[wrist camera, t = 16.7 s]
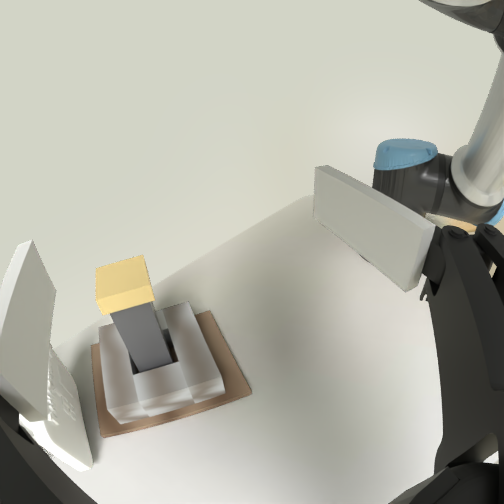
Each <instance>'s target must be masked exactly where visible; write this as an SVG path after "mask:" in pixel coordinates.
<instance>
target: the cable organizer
mask: <svg viewBox="0 0 504 504" xmlns="http://www.w3.org/2000/svg"><path fill="white" fill-rule="evenodd" d="M47 415H48V420H43V421H37V422H29V421H28V420H26V419H25V418H24V417H23V416H22V415H21V414H19V424H20V425H22V426H23V427H24V428H25V429H26V430H27V431H28V433H29V434H30V435H31V436H32V438H33V439H34V440H35V441H36V442H37V443H38V445H39V446H40V445H41V446H42V447H44V448H45V449H46V450H48V451H49V452H51V453H52V454H54V455H55V456H56V457H58V458H59V459H61V460H62V461H63V463H64V462H65V463H67V464H69V465H70V466H72V467H73V468H75V469H76V470H78V471H84V470H88V469H92V467H93V459H92V454H91V451H90V447H89V443H88V439H87V435H86V430H85V426H84V421H83V416H82V411H81V406H80V400H79V395H78V390H77V386H76V383H75V381H74V379H73V377H72V375H71V374H70V373H69V371H68V370H67V369H66V368H65V366H64V365H63V363H62V362H61V361H60V359H59V358H58V357H57V355H56V354H55V352H54V351H53V350H52V345H51V344H50V346H49V360H48V382H47Z"/></svg>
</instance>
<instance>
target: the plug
mask: <svg viewBox="0 0 504 504" xmlns="http://www.w3.org/2000/svg"><path fill="white" fill-rule="evenodd" d="M154 300H155V298H154V294H153V290H152V286H151V283H150V278H149V275H148V270H147V267H146V263H145V260H144V256H143V255H140V256H137V257H133V258H130V259H126V260H123V261H119V262H116V263H112V264H109V265H106V266H102V267H99V268H96V302H97V304H98V306H99V308H100V310H101V312H102V315H106V314H110V315H111V317H112V320H113V322H114V324H115V326H116V328H117V330H118V332H119V334H120V336H121V338H122V340H123V342H124V344H125V346H126V348H127V350H128V351H129V353H130V355H131V357H132V359H133V361H134V363H135V364H136V366H137V368H138V370H139V372H140V373H142V372H145V371H149V370H152V369H156V368H159V367H163V366H166V365H169V364H173V363H174V361H173V358H172V355H171V352H170V349H169V347H168V344H167V342H166V339H165V336H164V334H163V331H162V328H161V326H160V323H159V320H158V317H157V314H156V312H155V309H154V306H153V303H152V301H154Z"/></svg>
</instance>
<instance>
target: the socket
mask: <svg viewBox="0 0 504 504" xmlns="http://www.w3.org/2000/svg"><path fill="white" fill-rule="evenodd" d="M155 312H156V314H157V317H158V320H159V323H160V326H161V328H162V331H163V334H164V336H165V339H166V342H167V344H168V347H169V349H170V352H171V355H172V358H173V361H174V363H173V364H169V365H166V366H163V367H159V368H156V369H152V370H149V371H145V372H142V373H140V372H139V370H138V368H137V366H136V364H135V363H134V361H133V359H132V357H131V355H130V353H129V351H128V350H127V348H126V346H125V344H124V342H123V340H122V338H121V336H120V334H119V332H118V330H117V328H116V326H115V324H114V323H113V324H109V325H106V326H102V327H99V343H98V344H94V345H91V355H92V369H93V381H94V390H95V399H96V407H97V415H98V421H99V428H100V434H101V436H102V437H103V438H106V437H111V436H116V435H120V434H125V433H129V432H133V431H137V430H141V429H145V428H149V427H153V426H157V425H160V424H164V423H167V422H171V421H174V420H178V419H181V418H184V417H188V416H191V415H194V414H197V413H200V412H203V411H206V410H209V409H212V408H215V407H218V406H221V405H224V404H226V403H229V402H232V401H235V400H237V399H240V398H243V397H245V396H248V395H250V394H252V392H251V389H250V388H249V386H248V384H247V382H246V380H245V378H244V376H243V375H242V373H241V371H240V369H239V367H238V365H237V363H236V361H235V360H234V358H233V356H232V354H231V352H230V350H229V348H228V346H227V344H226V342H225V340H224V338H223V336H222V334H221V332H220V330H219V328H218V326H217V324H216V322H215V320H214V318H213V316H212V314H211V312H210V311H206V312H203V313H200V314H197V315H194V313H193V311H192V309H191V306H190V304H189V301H188V302H184V303H181V304H178V305H174V306H171V307H168V308H164V309H161V310H158V311H155Z"/></svg>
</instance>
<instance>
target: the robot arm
mask: <svg viewBox="0 0 504 504" xmlns="http://www.w3.org/2000/svg"><path fill="white" fill-rule="evenodd" d="M419 1H421V2H423V3H424V4H426V5H428V6H430V7H432V8H434V9H436V10H438V11H439V12H441V13H443V14H445V15H447V16H449V17H452V18H454V19H455V20H458V21H460V22H463V23H465V24H467V25H470V26H472V27H475V28H478V29H481V30H483V31H487V32H489V33H492V34H493V35H494V40H495V42H496V44H497V46H498V48H499V50H500V51H501V53H502V55H501V59H500V62H499V65H498V68H497V71H496V75H495V77H494V80H493V83H492V86H491V89H490V92H489V94H488V97H487V100H486V102H485V105H484V108H483V110H482V113H481V115H480V118H479V120H478V123H477V125H476V127H475V130H474V132H473V134H472V137H471V139H470V141H469V143H468V145H465V146H462V147H460V148H459V149H458V150H457V151H456V152H455V154H454V156H449V155H444V154H440V153H438V150H437V147H436V145H434V144H433V143H430V142H426V141H422V140H416V139H390V140H386V141H383V142H382V143H380V144H379V146H378V147H377V151H376V158H375V162H374V165H373V167H374V168H375V169H374V178H373V186H372V188H371V187H370V186H368V185H366V184H364V183H362V182H360V181H358V180H356V179H354V178H352V177H350V176H348V175H347V174H345V173H342V172H341V171H339V170H336V169H334V168H332V167H330V166H328V165H326V166H319V167H315V184H314V209H313V218H314V219H316V220H317V221H318V222H319V223H321V224H322V225H323V226H325V227H326V228H327V229H328V230H330V231H331V232H332V233H334V234H335V235H336V236H337V237H339V238H340V239H341V240H343V241H344V242H345V243H346V244H348V245H349V246H350V247H351V248H353V249H354V250H355V251H356V252H358V253H359V254H360V255H361V256H362V257H363V258H364V259H366V260H367V261H369V262H370V263H371V264H372V265H373V266H375V267H376V268H377V269H378V270H379V271H381V272H382V273H383V274H384V275H385V276H387V277H388V278H389V279H390V280H391V281H393V282H394V283H395V284H396V285H397V286H398V287H400V288H401V289H402V290H403V291H404V292H405V293H406V292H407V291H409V290H411V289H413V288H415V287H416V286H418V283H419V280H420V277H421V274H422V273H423V274H424V275H425V276H426V277H427V279H426V282H425V284H424V287H423V290H422V293H421V295H420V300H421V301H422V300H423V297H424V295H425V294H427V298H426V301H428V302H429V307H430V312H431V318H432V324H433V329H434V336H435V342H436V349H437V357H438V365H439V374H440V384H441V397H442V414H443V438H442V441H441V444H440V446H439V448H438V450H437V453H436V457H435V465H434V475H433V476H432V477H430V478H428V479H426V480H425V481H423V482H421V483H419V484H417V485H416V486H414V487H412V488H410V489H408V490H406V491H405V492H404V493H402V494H401V495H400V496H398V497H397V498H396V499H394V500H393V501H391V502H390V503H389V504H504V235H503V234H502V233H501V232H500V231H499V230H498V229H496V228H495V227H494V225H496V224H497V223H498V222H499V221H500V220H501V219H502V217H503V215H504V0H419ZM426 213H431V214H436V215H440V216H444V217H448V218H452V219H456V220H460V221H464V222H467V223H471V224H473V225H475V226H477V228H476V231H475V234H474V235H469V234H468V233H467V232H466V231H465V230H463V229H461V228H459V227H456V226H449V225H447V226H444V227H443V228H442V229H441V228H439V227H438V226H436V225H435V224H433V223H432V222H430V221H429V220H427V219H425V215H426ZM493 262H494V264H495V265H496V266H497V268H496V270H495V273H494V275H493V277H492V278H491V276H490V274H489V271H490V269H491V267H492V264H493ZM55 296H56V289H55V287H54V285H53V283H52V281H51V280H50V277H49V276H48V273H47V271H46V269H45V267H44V265H43V263H42V260H41V258H40V256H39V254H38V251H37V249H36V247H35V244H34V242H33V240H30V241H27V242H24V243H21V244H19V245H18V247H17V248H16V251H15V253H14V255H13V257H12V260H11V262H10V264H9V267H8V269H7V272H6V274H5V276H4V279H3V281H2V284H1V287H0V504H97V503H96V502H95V501H94V500H93V499H92V498H90V497H89V496H88V495H87V494H86V493H85V492H84V491H83V490H82V489H80V488H79V487H78V486H77V485H76V484H75V483H74V482H73V481H72V480H71V479H70V478H69V477H68V476H67V475H66V474H65V473H64V472H63V471H62V470H61V469H60V468H59V467H58V466H57V465H56V464H55V463H54V462H53V461H52V460H51V458H50V457H49V456H48V455H47V454H46V453H45V452H44V451H43V449H42V448H41V447H40V446H39V445H38V444H37V442H36V441H35V440H34V439H33V438H32V436H31V435H30V434H29V433H28V431H27V430H26V429H25V428H24V427H23V426H22V425H20V424H19V414H21V415H22V416H23V417H24V418H25V419H26V420H28V421H29V422H37V421H43V420H48V415H47V382H48V360H49V346H50V334H51V325H52V317H53V309H54V302H55ZM497 451H498V455H499V464H492V463H483V461H484V460H485V459H486V458H488V457H489V456H491V455H492V454H494V453H495V452H497Z"/></svg>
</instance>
